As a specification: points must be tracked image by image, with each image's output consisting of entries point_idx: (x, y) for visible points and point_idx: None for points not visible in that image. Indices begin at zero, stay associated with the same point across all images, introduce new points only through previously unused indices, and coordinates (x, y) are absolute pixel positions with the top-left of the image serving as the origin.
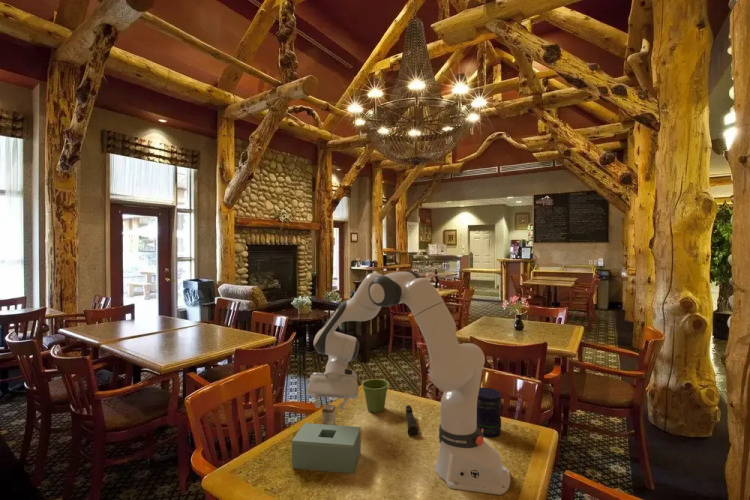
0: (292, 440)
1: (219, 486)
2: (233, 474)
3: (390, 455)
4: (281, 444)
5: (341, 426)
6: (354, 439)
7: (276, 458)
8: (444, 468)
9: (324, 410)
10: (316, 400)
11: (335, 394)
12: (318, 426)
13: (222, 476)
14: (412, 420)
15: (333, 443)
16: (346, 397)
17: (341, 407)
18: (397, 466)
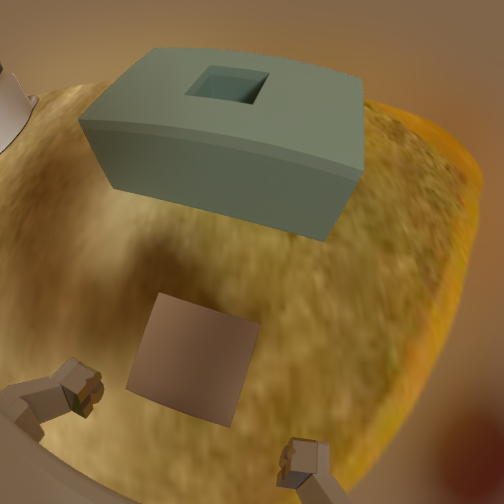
0: (360, 78)
1: (451, 139)
2: (454, 164)
3: (49, 175)
4: (415, 285)
5: (151, 117)
6: (138, 63)
7: (399, 200)
8: (22, 99)
9: (236, 320)
10: (328, 482)
11: (84, 475)
12: (274, 126)
13: (466, 165)
14: None
15: (212, 49)
16: (5, 397)
17: (83, 364)
18: (62, 137)
